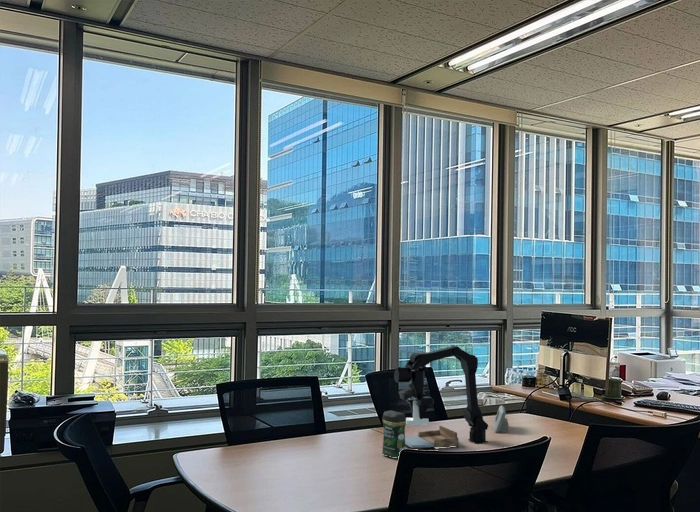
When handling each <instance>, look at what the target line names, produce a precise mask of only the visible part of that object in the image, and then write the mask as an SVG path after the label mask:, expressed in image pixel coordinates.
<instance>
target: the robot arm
mask: <svg viewBox="0 0 700 512" xmlns="http://www.w3.org/2000/svg"><path fill="white" fill-rule="evenodd" d="M449 357H450V358H451V357H455V358H456V359H457V360H458V361H459V363H460V366H461V369H462V371H463V373H464V381H465V393H466V408H463V418H464V419H465V420H464V421H466V422H467V424H468V426H469V427H470V429H469V439H467V441H469V440H470V441H469V442H471V441H472V442H471V443H473V442H474V443H473V444H476V443H477V444H484V443H483V442H487V443H488V442H489V441H488V440H487V439H486V438H487V435H486V434H487V433H486V432H487V430H488V428H489V424H488V423H487V422H486V421H485V419H484V416H483V413H482V410H481V408H480V406H479V402H478V401H479V400H478V389H477V379H476V378H477V376H476V373H477V370H478V369H479V368H478V367H479V366H478V365H479V359H478V357H477V356H476V355H475V354H470V353H468V352H466V351H465V350H463V349H462V348H460V347H459V346H457V345H451V346H448V347H444V348H440V349H436V350H432V351H429V352H428V351H426V352H421V351H420V352H419V351H418V352H413V353H411V354H410V356H409V360H407V362H406V364H405V365H404V366H396V367H395V370H394V373H393V379H394V381H395V383H409V384H408V387H407V388H403V389H401V390H399V391H398V394H399V398H400V399H401V400H403V401H406V402H407V403H408V405H409V407H410V412H411V415H412V416H413V401H417V402H418V404H416V405H417V406H418V408H419V417H420V419H422V418H424V417H425V414H426V413H427V410H428V408H429V407H430V406H431V405H434V401H435V400H434V399H433V397H431V396H429V395H428V396H427V394H426V393H425V388H426V387H427V384H425V372H429V369H428V368H427V366H428V365H429V364H430V363H432V362H435V361H437V360H438V361H439V360H442V359H446V358H449Z"/></svg>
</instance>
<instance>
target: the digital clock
mask: <svg viewBox="0 0 700 512" xmlns="http://www.w3.org/2000/svg"><path fill="white" fill-rule="evenodd" d="M506 412H507V411H506V408H505V406H504V405H499V408H498V410H497V413H496V416H495V417H494V420H493V423H492V424H493V425H492V427H493V428H492V429H493V431H494V432H495V434H496V433H509V421H508V418H506V415H507V413H506ZM499 431H500V432H499Z"/></svg>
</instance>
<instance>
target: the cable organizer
mask: <svg viewBox="0 0 700 512" xmlns="http://www.w3.org/2000/svg"><path fill="white" fill-rule="evenodd" d="M416 404H418V402H417V401H413V415H412V417H406V424H405V426H425V427H427V426H430V420H429V418H424V417H423V418H422V419H420V417H419V408H418V406H417V405H416Z"/></svg>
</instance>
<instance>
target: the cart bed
mask: <svg viewBox="0 0 700 512" xmlns="http://www.w3.org/2000/svg"><path fill="white" fill-rule="evenodd" d="M417 434H418V435H417V437H420V438H422V439H424V440H426V441H428V442H430V443H432V444H434V447H450V446H458V447H459V437H458V432H456V431H455V430H451V429H449V428H448V427H445V426H442V425H439V427H438V429H436V430H435V429H433V430H424V431H418V432H417Z"/></svg>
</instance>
